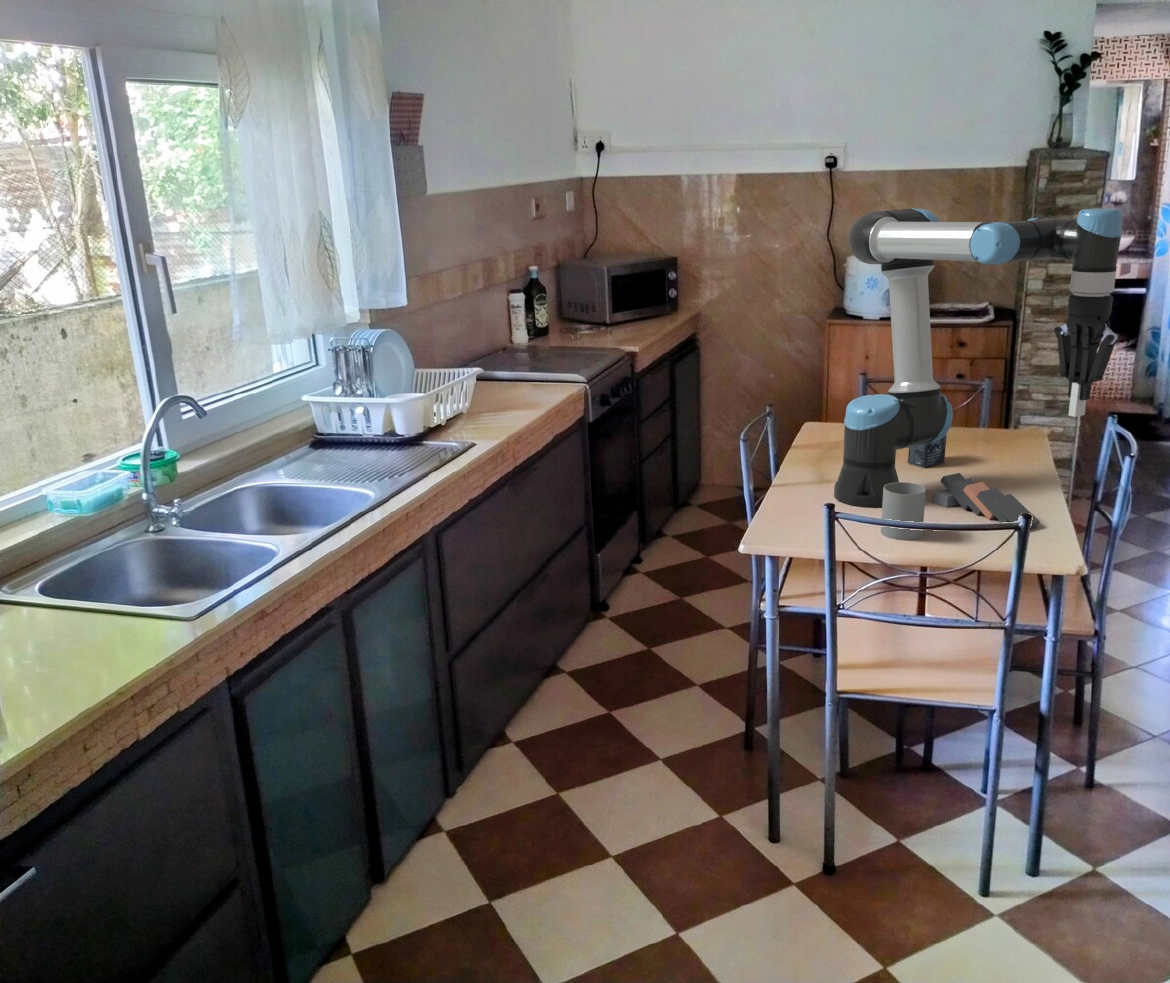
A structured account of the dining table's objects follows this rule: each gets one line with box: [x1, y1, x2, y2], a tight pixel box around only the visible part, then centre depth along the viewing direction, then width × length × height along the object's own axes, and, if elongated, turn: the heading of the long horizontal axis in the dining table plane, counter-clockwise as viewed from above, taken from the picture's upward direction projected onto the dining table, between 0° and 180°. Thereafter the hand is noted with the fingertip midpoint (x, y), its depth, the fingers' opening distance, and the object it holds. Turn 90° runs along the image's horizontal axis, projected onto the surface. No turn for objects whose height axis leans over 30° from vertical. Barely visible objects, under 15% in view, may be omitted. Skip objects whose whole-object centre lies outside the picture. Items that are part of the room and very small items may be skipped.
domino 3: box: [963, 481, 997, 520], centre depth 222 cm, size 5×2×9 cm
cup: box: [880, 481, 927, 541], centre depth 211 cm, size 8×8×10 cm
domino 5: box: [991, 493, 1040, 529], centre depth 215 cm, size 5×2×9 cm
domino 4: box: [977, 487, 1010, 523], centre depth 218 cm, size 5×2×9 cm
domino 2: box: [952, 477, 984, 516], centre depth 224 cm, size 5×2×9 cm
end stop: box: [933, 488, 960, 508], centre depth 230 cm, size 8×4×2 cm, turn 116°
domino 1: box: [940, 472, 971, 510], centre depth 227 cm, size 5×2×9 cm
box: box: [907, 432, 948, 469], centre depth 258 cm, size 8×6×11 cm
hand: (1076, 415), depth 197 cm, fingers closed
